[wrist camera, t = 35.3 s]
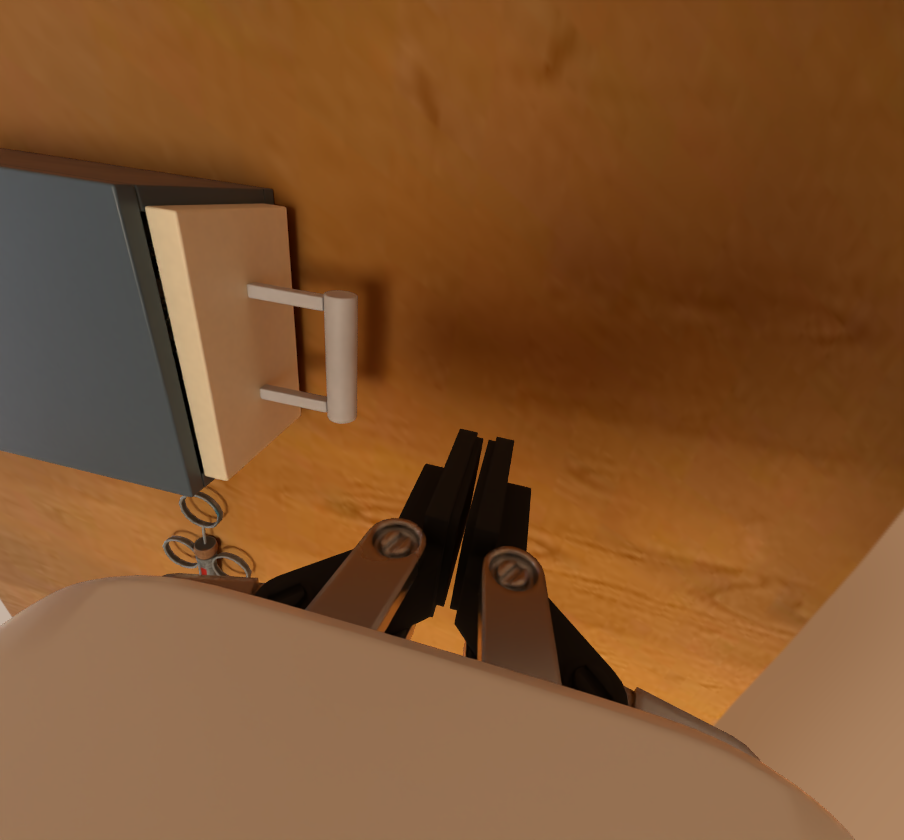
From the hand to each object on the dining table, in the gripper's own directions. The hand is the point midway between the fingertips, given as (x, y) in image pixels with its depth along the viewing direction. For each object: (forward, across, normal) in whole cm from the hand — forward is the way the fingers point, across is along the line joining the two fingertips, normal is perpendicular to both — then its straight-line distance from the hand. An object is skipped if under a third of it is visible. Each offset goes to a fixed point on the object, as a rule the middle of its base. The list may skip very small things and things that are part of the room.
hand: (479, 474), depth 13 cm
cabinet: (+10, +21, 0) cm, 23 cm away
